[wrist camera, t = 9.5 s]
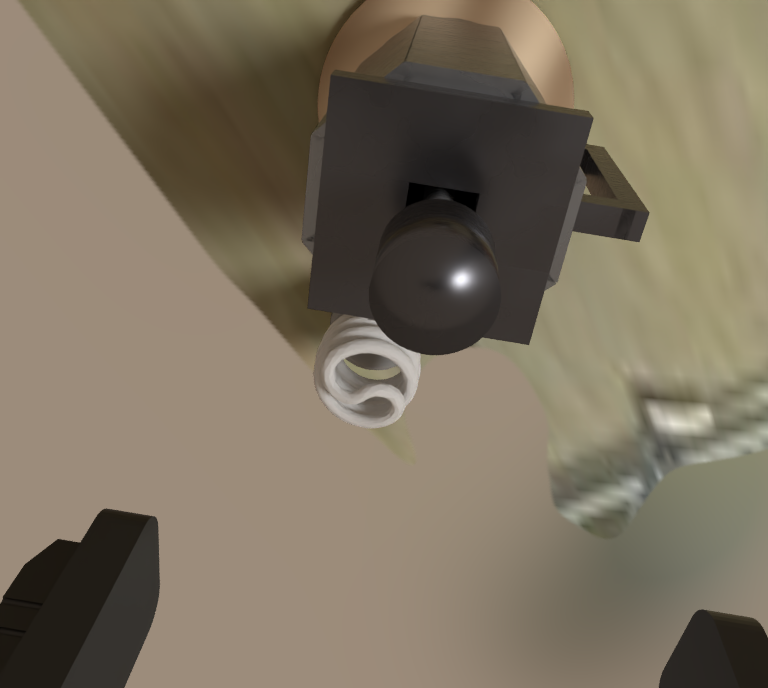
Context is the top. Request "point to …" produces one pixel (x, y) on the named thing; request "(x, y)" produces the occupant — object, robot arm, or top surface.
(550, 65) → the disc
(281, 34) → the top surface
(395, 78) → the carafe
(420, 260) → the plunger
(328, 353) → the light bulb
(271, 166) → the top surface
